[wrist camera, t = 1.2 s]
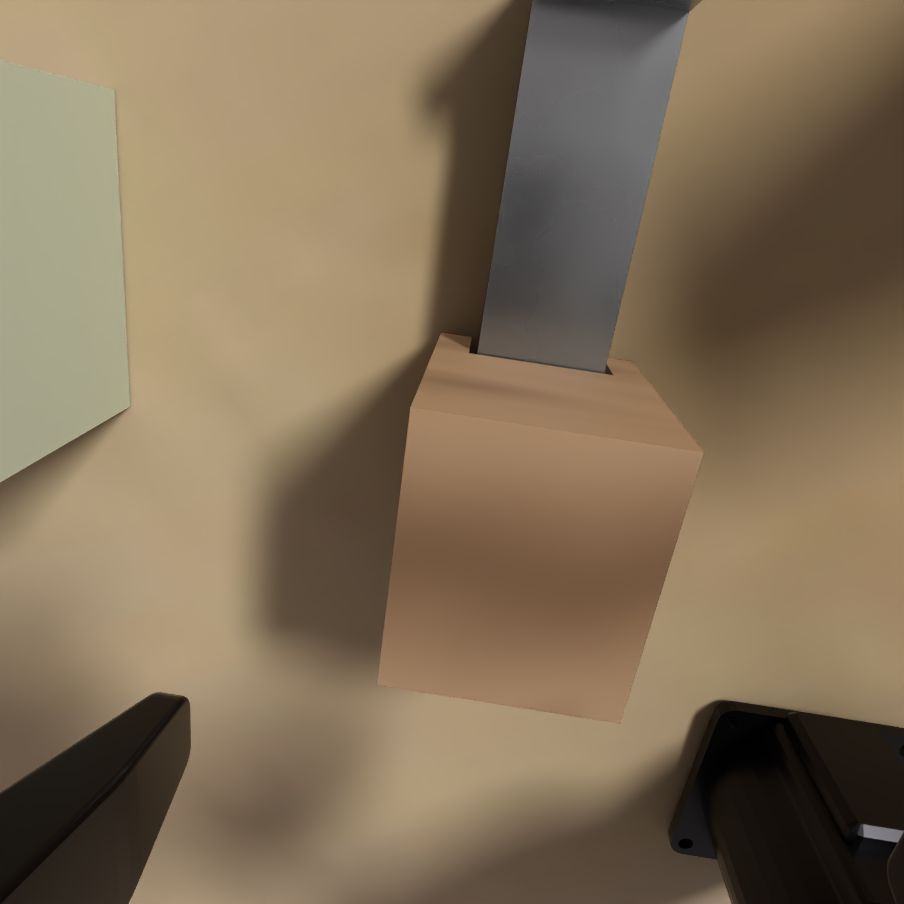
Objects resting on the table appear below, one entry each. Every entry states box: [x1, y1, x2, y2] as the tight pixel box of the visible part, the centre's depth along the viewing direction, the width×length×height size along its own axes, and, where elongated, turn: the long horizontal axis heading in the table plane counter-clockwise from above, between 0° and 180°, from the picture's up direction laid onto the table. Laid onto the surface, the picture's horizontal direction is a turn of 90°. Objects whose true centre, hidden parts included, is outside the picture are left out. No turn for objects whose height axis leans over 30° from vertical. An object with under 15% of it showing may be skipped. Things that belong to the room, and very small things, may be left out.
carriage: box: [377, 332, 704, 724], centre depth 15 cm, size 6×5×6 cm
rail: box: [477, 0, 702, 374], centre depth 15 cm, size 15×3×3 cm, turn 172°
